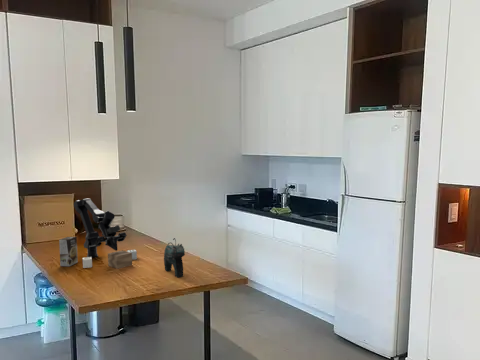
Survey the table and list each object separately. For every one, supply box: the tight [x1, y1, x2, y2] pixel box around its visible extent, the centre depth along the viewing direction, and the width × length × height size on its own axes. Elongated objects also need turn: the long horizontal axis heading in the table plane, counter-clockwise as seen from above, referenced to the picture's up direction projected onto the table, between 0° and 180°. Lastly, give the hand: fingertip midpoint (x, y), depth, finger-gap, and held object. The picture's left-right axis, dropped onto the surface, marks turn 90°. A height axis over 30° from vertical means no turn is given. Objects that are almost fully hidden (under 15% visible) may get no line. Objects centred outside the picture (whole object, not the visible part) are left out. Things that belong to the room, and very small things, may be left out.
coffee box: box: [58, 236, 79, 267], centre depth 266 cm, size 9×6×16 cm
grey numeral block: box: [127, 249, 138, 261], centre depth 277 cm, size 5×5×5 cm
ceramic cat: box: [163, 238, 186, 279], centre depth 241 cm, size 20×6×20 cm, turn 32°
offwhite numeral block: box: [82, 256, 93, 269], centre depth 261 cm, size 5×5×5 cm
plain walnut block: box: [107, 250, 133, 270], centre depth 261 cm, size 10×10×8 cm
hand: (116, 250), depth 263 cm, fingers closed
